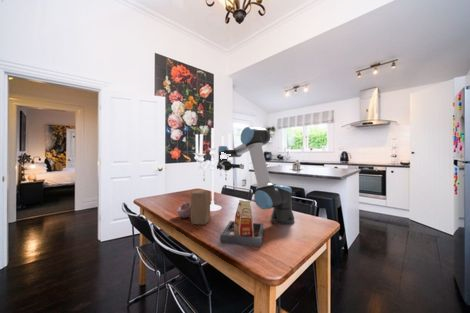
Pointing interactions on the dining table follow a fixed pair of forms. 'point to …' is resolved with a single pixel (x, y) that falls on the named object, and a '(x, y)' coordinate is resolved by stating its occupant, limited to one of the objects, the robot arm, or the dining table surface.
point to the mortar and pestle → (184, 210)
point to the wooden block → (200, 207)
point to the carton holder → (242, 239)
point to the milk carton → (243, 219)
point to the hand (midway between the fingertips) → (233, 167)
